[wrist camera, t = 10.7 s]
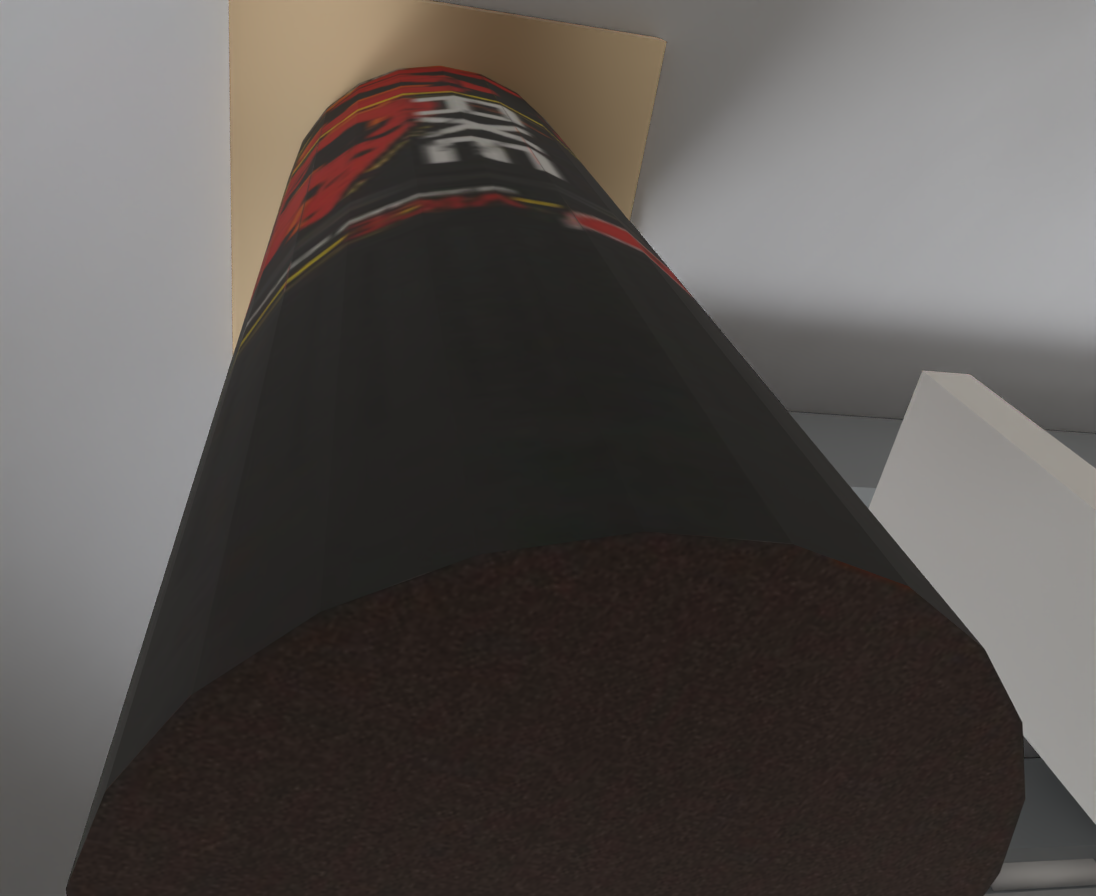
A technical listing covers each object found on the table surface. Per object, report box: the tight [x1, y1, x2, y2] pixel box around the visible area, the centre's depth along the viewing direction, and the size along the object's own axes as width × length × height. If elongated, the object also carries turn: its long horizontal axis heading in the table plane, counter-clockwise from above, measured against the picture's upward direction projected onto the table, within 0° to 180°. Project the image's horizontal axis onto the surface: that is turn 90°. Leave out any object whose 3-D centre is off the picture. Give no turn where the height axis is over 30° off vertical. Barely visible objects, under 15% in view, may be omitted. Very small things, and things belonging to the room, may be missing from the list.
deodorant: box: [66, 66, 1025, 896], centre depth 12 cm, size 6×6×15 cm
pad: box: [229, 0, 667, 354], centre depth 19 cm, size 8×8×1 cm
